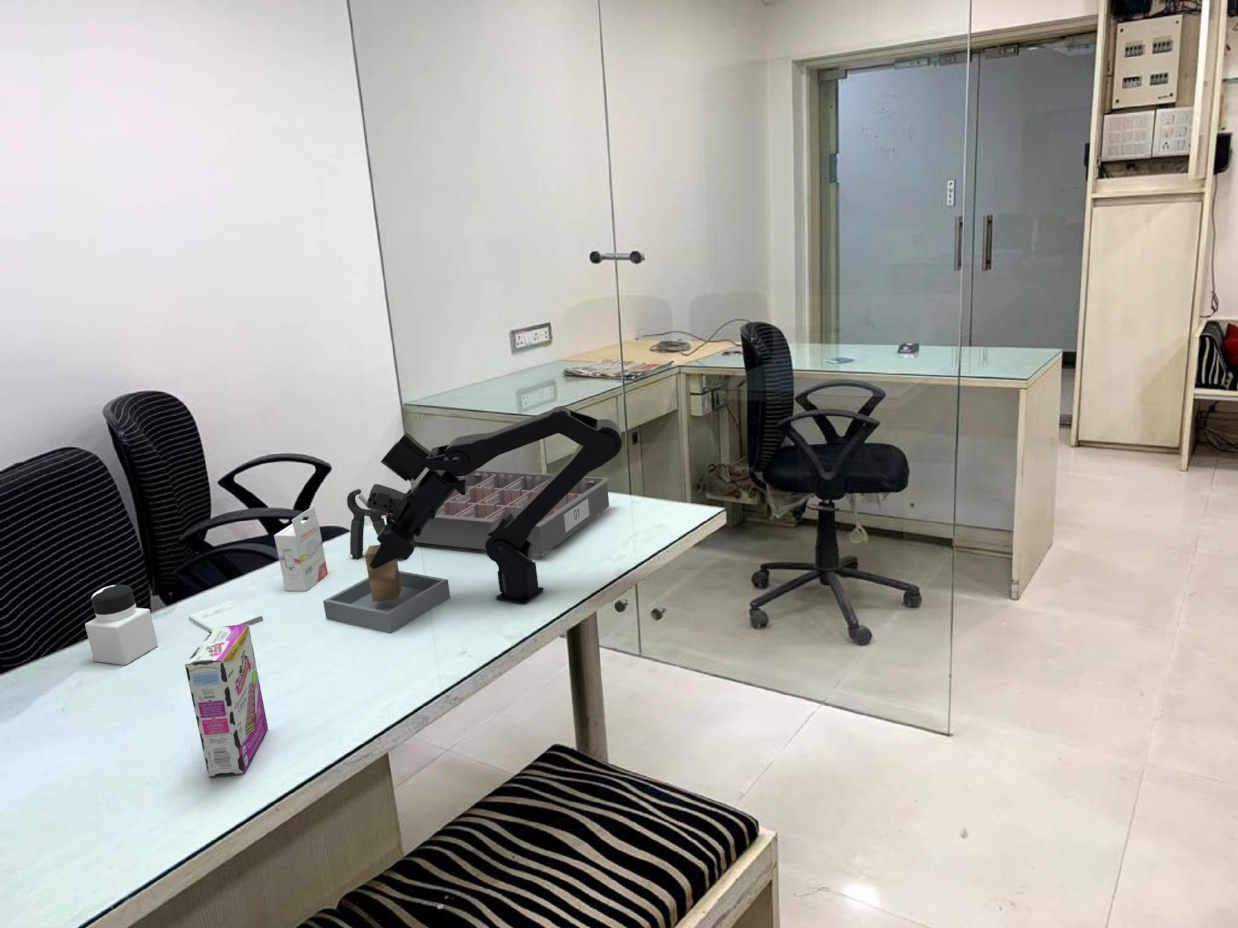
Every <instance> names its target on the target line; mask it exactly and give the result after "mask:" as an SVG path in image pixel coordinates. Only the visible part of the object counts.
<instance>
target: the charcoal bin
mask: <svg viewBox="0 0 1238 928" xmlns="http://www.w3.org/2000/svg"><path fill="white" fill-rule="evenodd" d="M399 575H400V581H401V587H402V590H401V593H400V595H399V598H398V599H394V600H386V601H377V602H373V600H372V594H371V589H370V583H369V577H368V576H367V577H366V578H364V579H363V580H360V581H359V582H356V583H354V584H353V585H351V586H349V587H347V588H345V589H343V590H341V591H339V592H338V593H335V594H333V595H331V596H328V597H327V598H326V599H324V600H323V601H322V603H323V608H324V613H325V619H326V620H330V621H334V622H339V623H344V624H348V625H352V626H357V627H362V628H366V629H370V630H375V631H380V632H384V633H388V634H392V633H393V632H395V631H397V630H399V629H400V628H401V627H403V626H405V625H406V624H408V623H409V622H411V621H413V620H415V619H417V618H418V617H420V616H422V615H423V614H425V613H426V612H428V611H429V610H431V609H433V608H434V607H436V606H438V605H439V604H441V603H443V602H444V601H446V600H448V599H450V598H451V594H450V593H451V591H450V585H449V579H447V578H443V577H441V578H440V577H436V576H430V575H424V574H418V573H413V572H407V571H402V570H399Z"/></svg>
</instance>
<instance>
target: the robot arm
mask: <svg viewBox="0 0 1238 928" xmlns="http://www.w3.org/2000/svg"><path fill="white" fill-rule="evenodd" d="M556 434H560V435H561V436H564V437H566V438H567V439H570V440H571V441H573V442H575V443H576V444H578V445H577V447H576V449H575V450H574V452H573V454H572V455H571V457H569V459H568V460H567V461H565V463H563V464H562V466H560V468H559V469H557V470H556V472H555V473H554V474H553V476H552V477H551V478H550V479H549V480H548V481H547V482H546V483H545V484H544V485H543V486H542V487H541V488H540V489H539V490H538V491H537V492H536V493H535V494H534V495H533V496H532V497H531V498H530V499H529V500H528V501H527V502H526V503H525V504H524V505H523V506H522V507H521V508H520V509H519V510H517V511H515V512H513V513H510V512H509V510H508V509H507V508H506V509H505V510H504V511H503V513H502V514H501V516H500V517H499V518H498V519H497V520H495V521H492V523H491V526H490V529H489V532H488V538H487V541H486V544H485V549H484V550H485V554H486V555H487V557H488V558H489V559H490V560H491V561H493V562H495V563H496V565H497V569H498V571H496V572H497V578H498V579H497V580H498V589H499V592H500V593H499V594H497V595H496V596H495V597H496V600H498V601H499V600H500V601H505V602H510V603H516V604H519V605H520V604H522V605H524V604H527V603H528V602H530V601H532V600H533V599H534V598H536V597H537V596H539V595H540V594H541V593H540V592H542V591H543V590H544V591H545V588H544V587H542V586H541V587H539V580H538V573H537V571H538V570H537V563H536V561H533V560H532V556H533V554H532V550H533V543H531V542H530V541H529V540H527V538H528V536H529V535H530V533H531V531H532V530H533V528H534V527H535V526H536V525H537V524H538V523H539V522H540V521H541V520H542V519H543V518H544V517H545V516H546V515H547V514H548V513H549V512H550V511H551V510H552V509H553V508H554V507H555V506H556V505H557V504H558V503H559V502H560V501H561V500H562V499H563V498H564V497H565V496H566V495H567V494H568V493H569V492H570V491H571V490H572V489H573V487H574V486H575V485H576V484H577V483H578V482H579V481H580V480H581V479H582V478H583V477H584V476H587V475H588V474H589V473H591V472H592V471H595V470H597V469H599V468H600V467H602V466H604V465H606V463H608V462H610V461H611V460H612V459H614V458H615V457H616V456H618V455H619V453H620V452H621V450H622V445H623V443H622V442H623V440H622V432H621V429H620V426H619V425H618V423H616V422H615V421H613V420H610V419H608V418H607V419H606V418H605V419H604V418H603V419H598V418H595V417H593V416H590V415H588V414H585V413H581V412H577V411H574V410H572V409H569V408H568V407H565V406H563V405H559V406H555V407H553V408H552V409H550V410H548V411H545V412H543V413H540V414H537V415H534V416H531V417H529V418H527V419H524V420H522V421H519V422H516V423H513V424H511V425H507V426H505V427H503V428H500V429H497V430H494V431H491V432H484V433H473V434H469V435H468V434H467V435H463V436H458V437H456V438H454V439H452V440H451V441H450V443H449V444H445V445H441V446H437V447H432V448H431V450H429V449H428V448H426V447H425V446H423V445H422V444H421V443H420V442H418V441H417V440H416V439H415V438H414V437H413V436H412V435H411V434H410V433H409V432H405V433H404V434H403V435H402V436H401V438H400V439H399V440H398V441H397V442H395V444H393V446H392V447H391V448H390V449H389V450H388V452H387V453H386V455H385V456H384V457H383V458H382V459H381V460H380V463H381V464H382V465H383V466H385V467H387V468H388V469H389V470H390V471H392V473H394V474H395V475H396V476H398V477H400V478H401V480H404V481H405V482H407V481H409V482H411V481H412V480H413V481H416V480H417V479H418V478H419V477H420V476H421V474H422V473H423V472H424V471H425V469H428V470H427V472H426V473H425V474H424V475H423V476H422V477H421V479H420V480H419V481H418V483H417V484H416V485H415V487H412V488H409V489H408V490H407V491H406V492H407V493H406V492H402V491H400V490H399V489H395V488H393V487H388V486H386V485H382V484H379V483H375V484H373V486H372V488H371V489H370V492H369V495H368V498H367V500H368V501H367V504H366V505H365V507H367V509H368V508H370V509H377V510H380V511H383V512H386V513H392V514H391V515H390V514H388V516H387V518H386V517H385V520H386V523H385V526H384V528H383V529H381V531H380V533H379V535H377V538H376V540H377V541H378V543H380V544H379V545H380V547H379V549H378V550H377V552H376V554H375V556H374V558H373V560H372V562H371V563H370V567H372V568H373V569H376V568H378V567H380V566H382V565H384V564H386V563H388V562H390V561H392V560H395V559H397V560H398V558H399V557H401V558H402V559H401V560H405V561H407V560H408V559H409V558H410V556H412V554H413V553H414V551H415V548H416V542H415V538H414V535H416V536H417V537H418V536H419V535H420V534H421V533H422V530H423V528H424V527H425V525H426V524H427V523H428V522H429V521H430V519H433V518H434V517H435V516H436V513H437V511H438V510H439V508H440V507H441V506H442V505H443V504H444V502H445V501H446V500H447V499H448V498H449V496H450V495H451V494H452V493H453V491H454V490H456V491H458V492H459V493H460V494H462V495H465V494H466V492H467V490H468V487H467V483H466V481H467V477H462V476H466V475H468V474H470V473H471V472H473V471H475V470H479V469H480V468H481V467H484V466H485V465H487V463H489V462H490V461H492V460H493V459H494V458H496V457H498V456H500V455H503V454H506V453H509V452H511V451H513V450H517V449H519V448H522V447H524V446H527V445H530V444H533V443H535V442H538V441H540V440H544V439H546V438H549V437H552V436H555V435H556ZM405 493H406V494H405ZM544 591H543V592H544ZM543 592H542V593H543ZM539 593H540V594H539ZM538 594H539V595H538ZM535 596H536V597H535Z"/></svg>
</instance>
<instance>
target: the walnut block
mask: <svg viewBox="0 0 1238 928" xmlns="http://www.w3.org/2000/svg"><path fill="white" fill-rule="evenodd" d="M379 547H380V544H374V545H369V546H368V547H367V550H366V551H365V554H364V557H365V565H366V571H367V578H368V577H369V583H370V589H371V594H372V600H373V602H377V601H386V600H394V599H398V598H399V595H400V593H401V590H402V587H401V581H400V575H399V571H400V569H399V563H398V558H397V559H395V560H392V561H390V562H388V563H386V564H384V565H382V566H380V567H378V568H376V569H373V568H372V567H370V563H371V562H372V560H373V558H374V556H375V554H376V552H377V550H378V549H379Z"/></svg>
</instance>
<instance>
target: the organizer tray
mask: <svg viewBox="0 0 1238 928" xmlns="http://www.w3.org/2000/svg"><path fill="white" fill-rule="evenodd" d="M553 475H554V474H553V473H551V474H549V473H534V472H518V471H505V470H504V471H503V470H485V469H484V470H483V469H477V470H475V471H473V472H471V473H470V474H468V475H466V476H462V477H467V481H466V483H467V487H468V490H467V492H466V494H465V495H462V494H460V493H459V492H458V491H456V490H454V491H453V493H452V494H451V495H450V496H449V498H448V499H447V500H446V501H445V502H444V504H443V505H442V506H441V507H440V508H439V510H438V511H437V513H436V516H435V517H434V518H433V519H430V521H429V522H428V523H427V524H426V525H425V527H424V528H423V530H422V533H421V534H420V535H419V536H418V537H417V536H416V535H414V538H415V543H422V544H430V545H438V546H439V545H440V546H451V548H452V549H451V550H453V547H457V548H468V549H469V548H470V549H476V550H478V549H479V550H485V544H486V541H487V538H488V532H489V529H490V526H491V523H492V521H495V520H497V519H498V518H499V517H500V516H501V514H502V513H503V511H504V510H505V509H506V508H507V509H508V510H509V512H510V513H513V512H515V511H517V510H519V509H520V508H521V507H522V506H523V505H524V504H525V503H526V502H527V501H528V500H529V499H530V498H531V497H532V496H533V495H534V494H535V493H536V492H537V491H538V490H539V489H540V488H541V487H542V486H543V485H544V484H545V483H546V482H547V481H548V480H549V479H550V478H551V477H552V476H553ZM611 480H612V478H611V477H599V476H587V475H585V476H584V477H583V478H582V479H581V480H580V481H579V482H578V483H577V484H576V485H575V486H574V487H573V489H572V490H571V491H570V492H569V493H568V494H567V495H566V496H565V497H564V498H563V499H562V500H561V501H560V502H559V503H558V504H557V505H556V506H555V507H554V508H553V509H552V510H551V511H550V512H549V513H548V514H547V515H546V516H545V517H544V518H543V519H542V520H541V521H540V522H539V523H538V524H537V525H536V526H535V527H534V528H533V530H532V531H531V533H530V535H529V536H528V538H527V540H529V541H530V542H531V543H533V550H532V556H533V555H534V556H535V555H536V556H544V555H545V554H547V553H548V552H549V551H551V550H552V549H553V548H555V547H556V546H557V545H559V544H560V543H561V542H563V541H564V540H565V539H568V538H569V536H571V535H572V534H574V533H576V531H578V530H579V529H580V528H582V527H583V526H584V525H586V524H587V523H589V522H590V521H591V520H593V519H595V517H597V516H598V515H599V514H601V513H602V512H604V511H605V510H606V509H608V507H610V501H609V489H608V488H609V487H608V482H609V481H611ZM407 492H408V491H406V492H404V493H405V494H406V493H407ZM387 516H388V515H384V517H385V519H386V518H387Z"/></svg>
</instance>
